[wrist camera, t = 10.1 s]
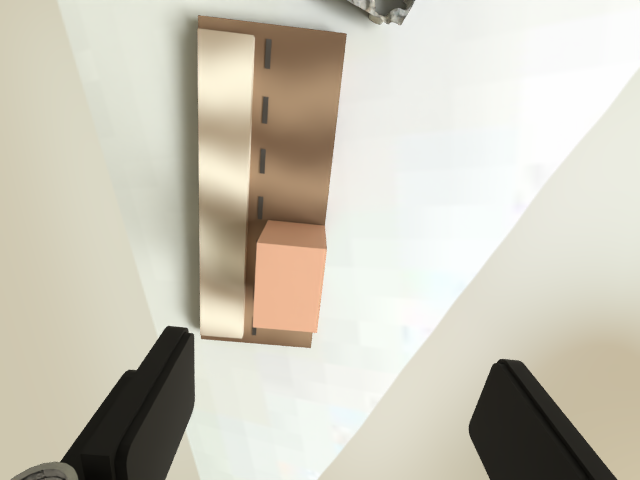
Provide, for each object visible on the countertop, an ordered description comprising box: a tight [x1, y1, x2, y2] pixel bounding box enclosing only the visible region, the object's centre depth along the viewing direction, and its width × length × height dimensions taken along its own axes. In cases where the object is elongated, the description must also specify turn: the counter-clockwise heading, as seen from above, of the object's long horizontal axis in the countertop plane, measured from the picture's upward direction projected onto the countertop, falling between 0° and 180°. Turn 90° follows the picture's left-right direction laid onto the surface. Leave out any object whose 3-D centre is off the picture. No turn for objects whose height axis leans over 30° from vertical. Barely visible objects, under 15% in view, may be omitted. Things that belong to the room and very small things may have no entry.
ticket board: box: [197, 15, 347, 348], centre depth 30 cm, size 28×11×2 cm, turn 174°
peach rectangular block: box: [253, 220, 327, 333], centre depth 28 cm, size 7×5×6 cm
